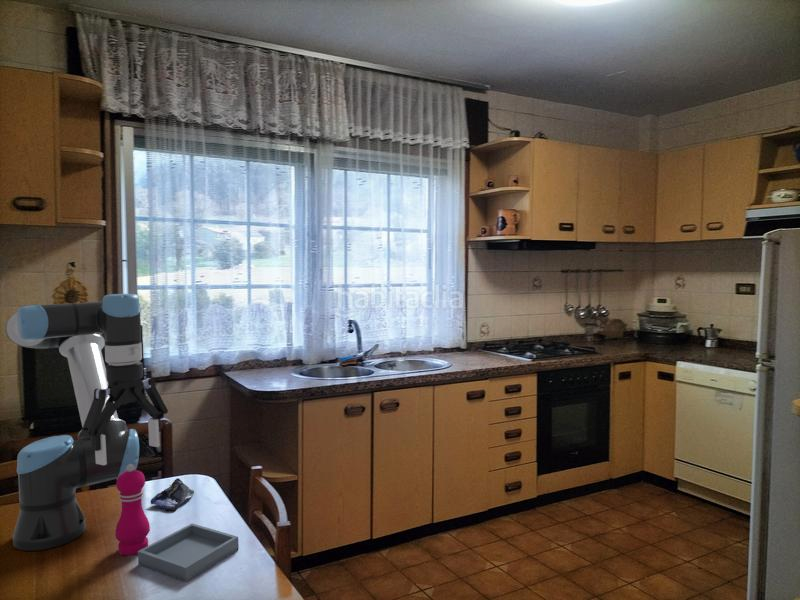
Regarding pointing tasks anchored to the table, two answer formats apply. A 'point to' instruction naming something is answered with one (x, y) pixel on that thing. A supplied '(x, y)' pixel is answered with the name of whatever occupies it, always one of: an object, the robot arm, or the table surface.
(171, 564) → the tray
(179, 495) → the snack package
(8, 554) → the table surface
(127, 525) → the pepper mill
